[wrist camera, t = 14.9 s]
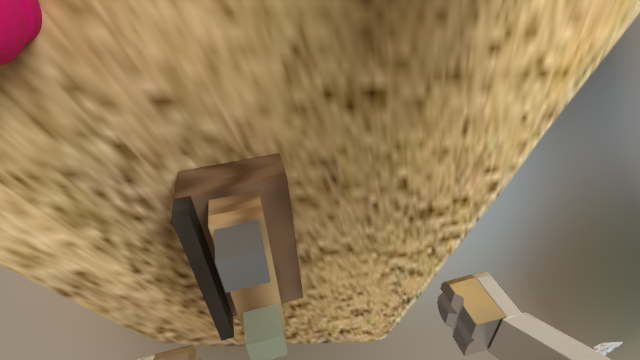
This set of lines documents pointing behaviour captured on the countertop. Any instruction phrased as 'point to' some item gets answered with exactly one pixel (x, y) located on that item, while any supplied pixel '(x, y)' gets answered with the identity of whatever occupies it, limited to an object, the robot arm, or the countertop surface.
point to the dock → (198, 241)
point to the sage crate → (264, 333)
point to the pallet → (250, 210)
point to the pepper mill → (17, 26)
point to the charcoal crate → (241, 256)
